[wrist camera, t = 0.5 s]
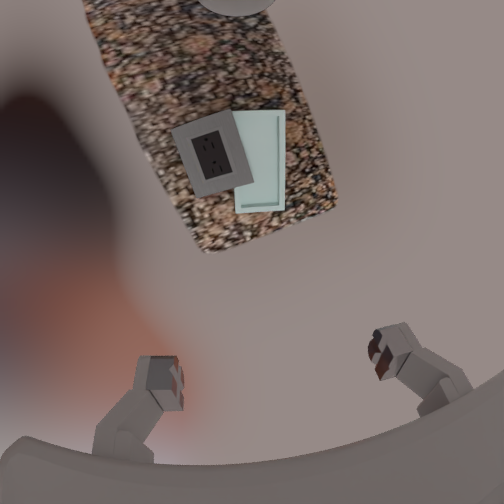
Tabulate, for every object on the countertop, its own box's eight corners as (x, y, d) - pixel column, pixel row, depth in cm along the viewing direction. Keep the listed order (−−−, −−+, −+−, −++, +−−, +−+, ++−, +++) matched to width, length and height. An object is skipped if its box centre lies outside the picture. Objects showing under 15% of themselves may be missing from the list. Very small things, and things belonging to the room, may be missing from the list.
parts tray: (229, 111, 42) (230, 111, 40) (282, 109, 43) (285, 110, 41) (235, 209, 52) (235, 213, 50) (282, 205, 53) (284, 210, 51)
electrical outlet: (174, 127, 43) (169, 129, 41) (232, 107, 41) (230, 108, 39) (199, 194, 50) (196, 198, 48) (254, 178, 47) (254, 183, 45)
